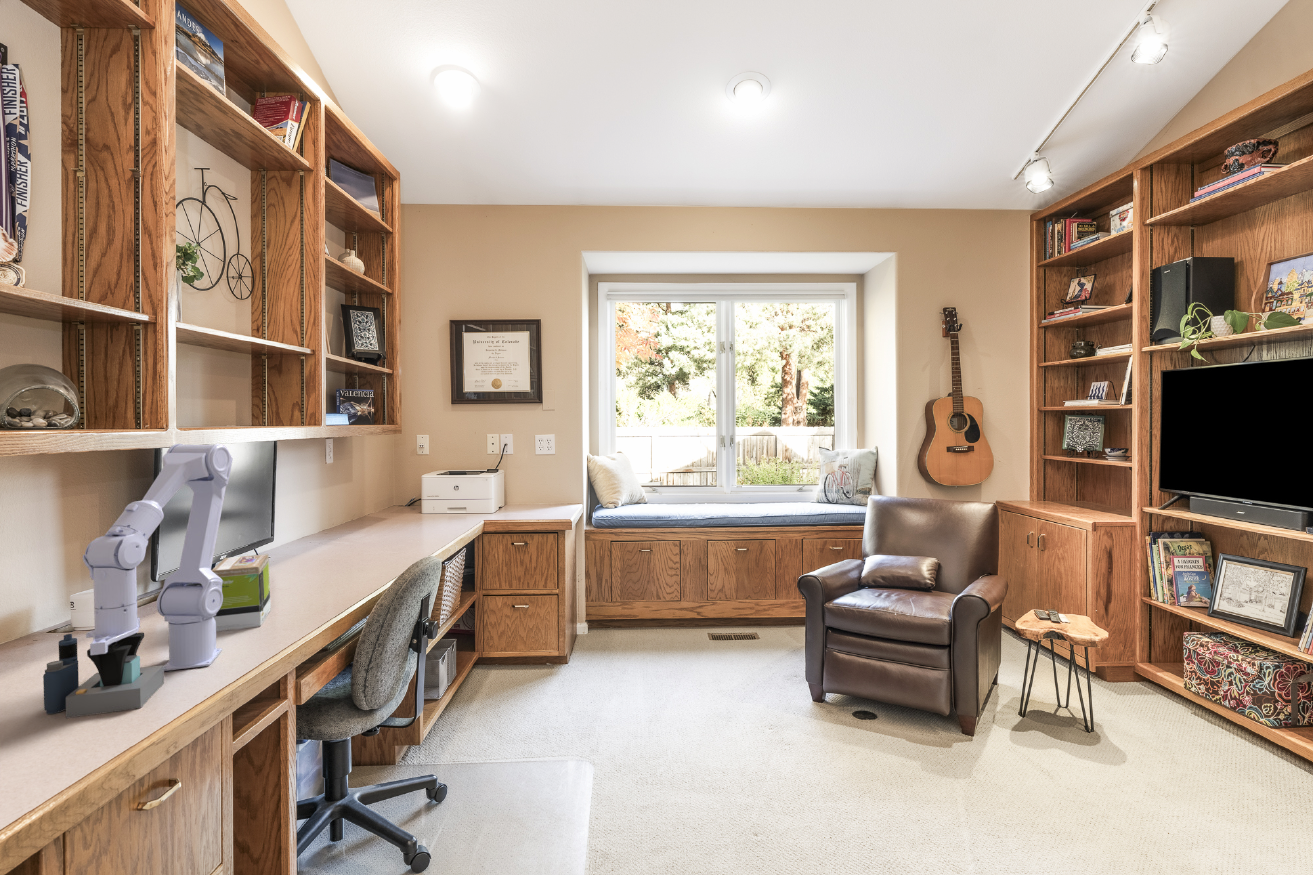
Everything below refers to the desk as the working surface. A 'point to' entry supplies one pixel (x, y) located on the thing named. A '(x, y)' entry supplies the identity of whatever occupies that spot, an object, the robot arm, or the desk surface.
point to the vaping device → (61, 676)
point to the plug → (129, 670)
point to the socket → (114, 694)
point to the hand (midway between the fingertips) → (117, 681)
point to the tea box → (243, 592)
